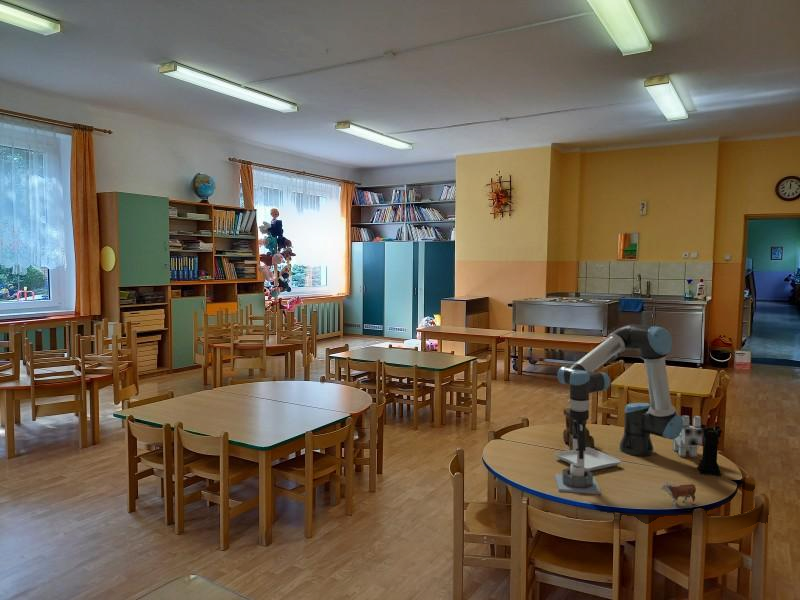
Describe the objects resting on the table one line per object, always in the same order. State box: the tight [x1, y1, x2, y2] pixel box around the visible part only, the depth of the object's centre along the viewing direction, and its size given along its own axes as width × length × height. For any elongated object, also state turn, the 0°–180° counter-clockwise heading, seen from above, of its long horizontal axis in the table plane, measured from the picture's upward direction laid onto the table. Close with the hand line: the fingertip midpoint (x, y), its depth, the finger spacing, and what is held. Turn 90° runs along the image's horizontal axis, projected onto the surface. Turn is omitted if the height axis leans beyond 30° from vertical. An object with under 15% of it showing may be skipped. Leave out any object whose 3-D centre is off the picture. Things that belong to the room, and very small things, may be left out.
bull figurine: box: [660, 481, 697, 506], centre depth 219 cm, size 4×13×8 cm, turn 95°
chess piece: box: [696, 423, 723, 477], centre depth 251 cm, size 8×8×20 cm
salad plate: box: [554, 447, 622, 472], centre depth 261 cm, size 21×21×3 cm
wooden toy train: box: [562, 407, 595, 450], centre depth 284 cm, size 20×11×17 cm, turn 179°
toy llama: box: [672, 414, 703, 459], centre depth 273 cm, size 8×18×20 cm, turn 173°
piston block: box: [554, 463, 602, 495], centre depth 236 cm, size 16×16×8 cm
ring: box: [561, 467, 594, 489], centre depth 236 cm, size 12×12×4 cm
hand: (578, 460), depth 236 cm, fingers open, 13 cm apart
